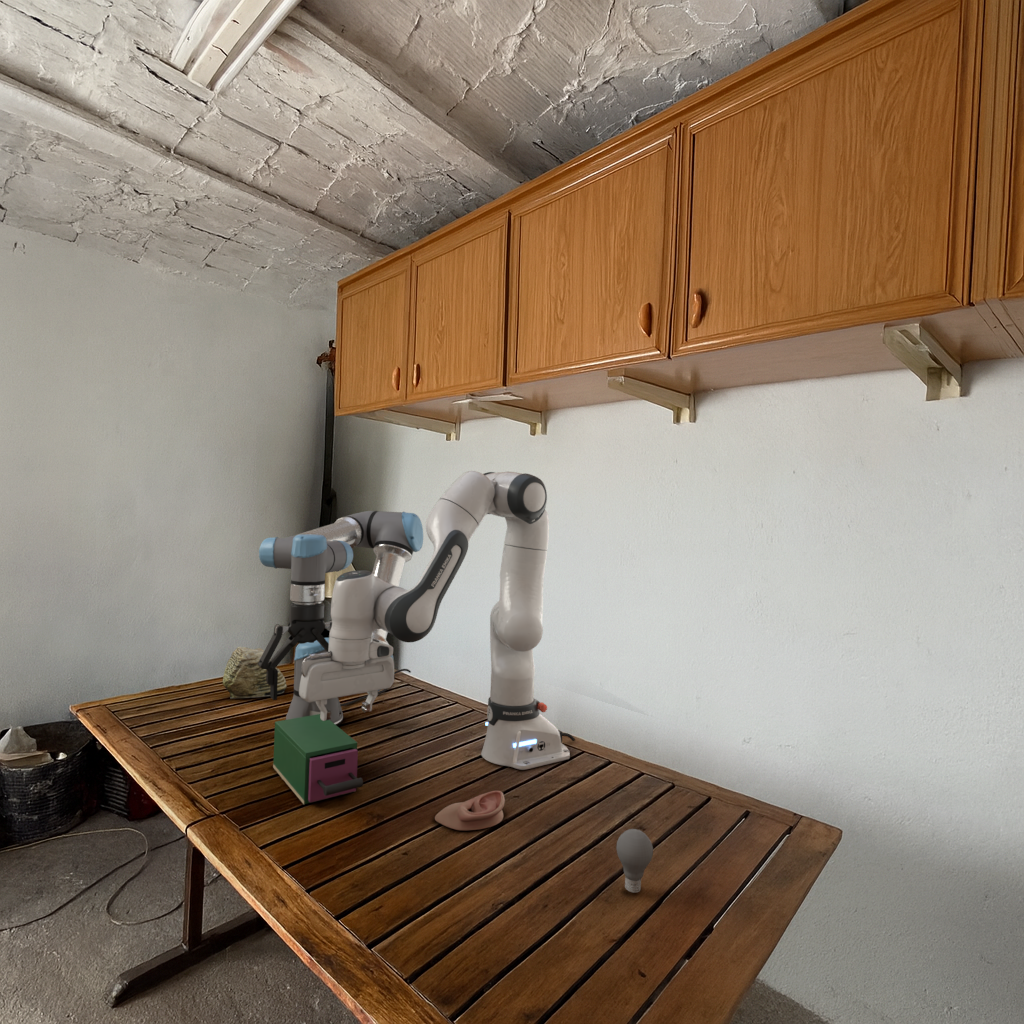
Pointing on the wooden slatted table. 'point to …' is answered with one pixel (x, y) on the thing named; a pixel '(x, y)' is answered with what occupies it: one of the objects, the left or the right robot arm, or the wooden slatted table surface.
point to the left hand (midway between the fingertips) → (303, 694)
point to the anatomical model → (474, 812)
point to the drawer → (333, 774)
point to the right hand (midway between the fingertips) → (346, 715)
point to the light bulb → (634, 857)
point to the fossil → (248, 675)
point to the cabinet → (305, 749)
